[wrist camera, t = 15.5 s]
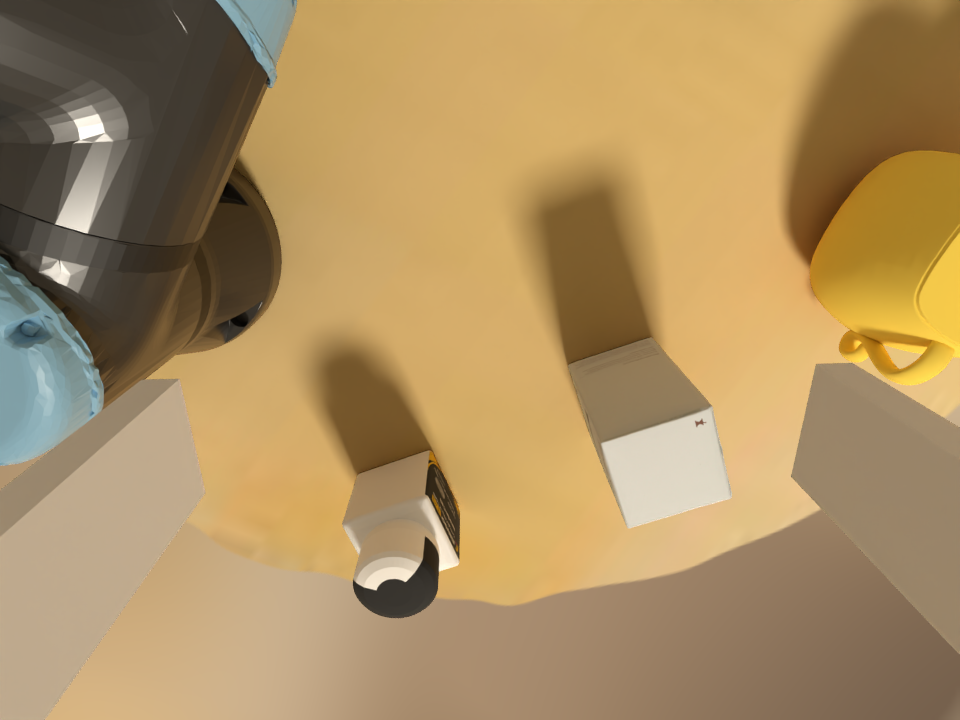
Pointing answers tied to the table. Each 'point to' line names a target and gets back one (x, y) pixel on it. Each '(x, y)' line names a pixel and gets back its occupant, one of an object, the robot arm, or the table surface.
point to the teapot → (896, 265)
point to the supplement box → (650, 432)
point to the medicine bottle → (402, 534)
